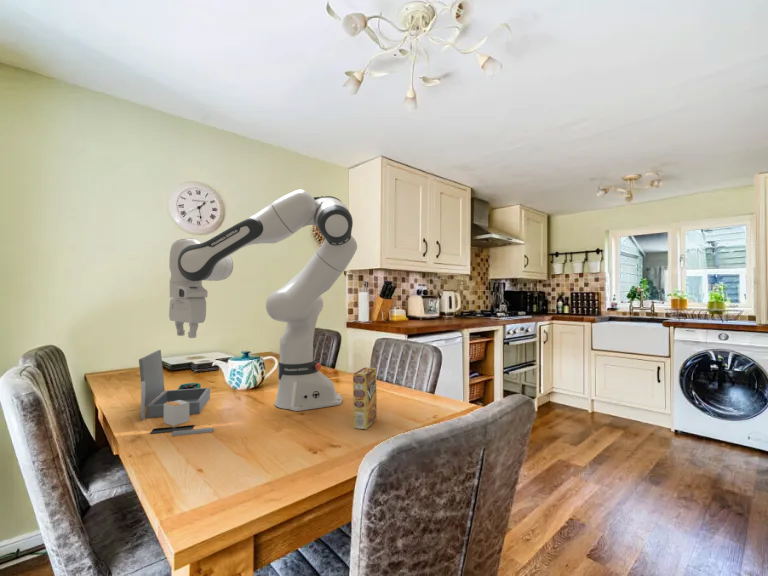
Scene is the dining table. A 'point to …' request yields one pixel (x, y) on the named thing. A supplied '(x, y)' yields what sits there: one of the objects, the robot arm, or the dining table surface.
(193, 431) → the rod
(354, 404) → the candy box
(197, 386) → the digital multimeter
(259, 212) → the robot arm
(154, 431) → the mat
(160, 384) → the lid
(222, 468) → the dining table surface
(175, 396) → the case
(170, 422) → the block
